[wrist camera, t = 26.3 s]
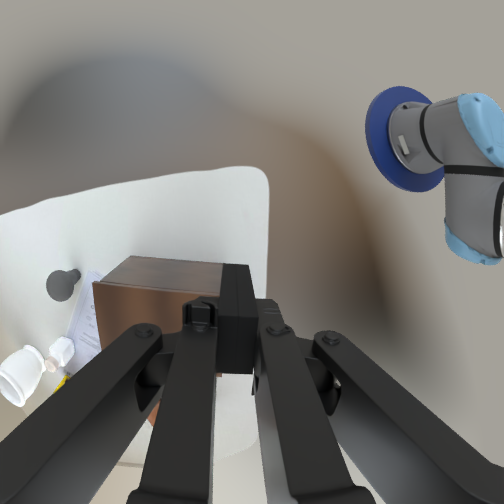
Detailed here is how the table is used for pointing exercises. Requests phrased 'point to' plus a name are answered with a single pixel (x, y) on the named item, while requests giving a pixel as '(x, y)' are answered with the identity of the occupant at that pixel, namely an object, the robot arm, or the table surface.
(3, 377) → the jar
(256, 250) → the table surface
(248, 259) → the table surface
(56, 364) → the salt shaker
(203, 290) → the chest
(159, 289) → the lid
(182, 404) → the robot arm
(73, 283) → the light bulb
